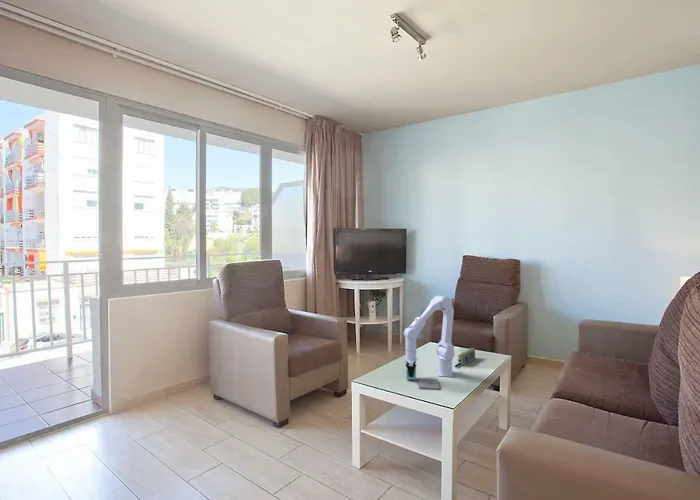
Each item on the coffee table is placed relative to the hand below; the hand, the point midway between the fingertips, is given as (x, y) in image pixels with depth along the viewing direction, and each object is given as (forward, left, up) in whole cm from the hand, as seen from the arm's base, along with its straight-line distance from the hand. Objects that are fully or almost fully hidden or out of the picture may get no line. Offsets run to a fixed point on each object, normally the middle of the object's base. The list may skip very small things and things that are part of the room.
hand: (411, 375), depth 202 cm
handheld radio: (-32, +32, -3) cm, 46 cm away
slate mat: (+7, +9, -2) cm, 12 cm away
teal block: (0, 0, -1) cm, 1 cm away
